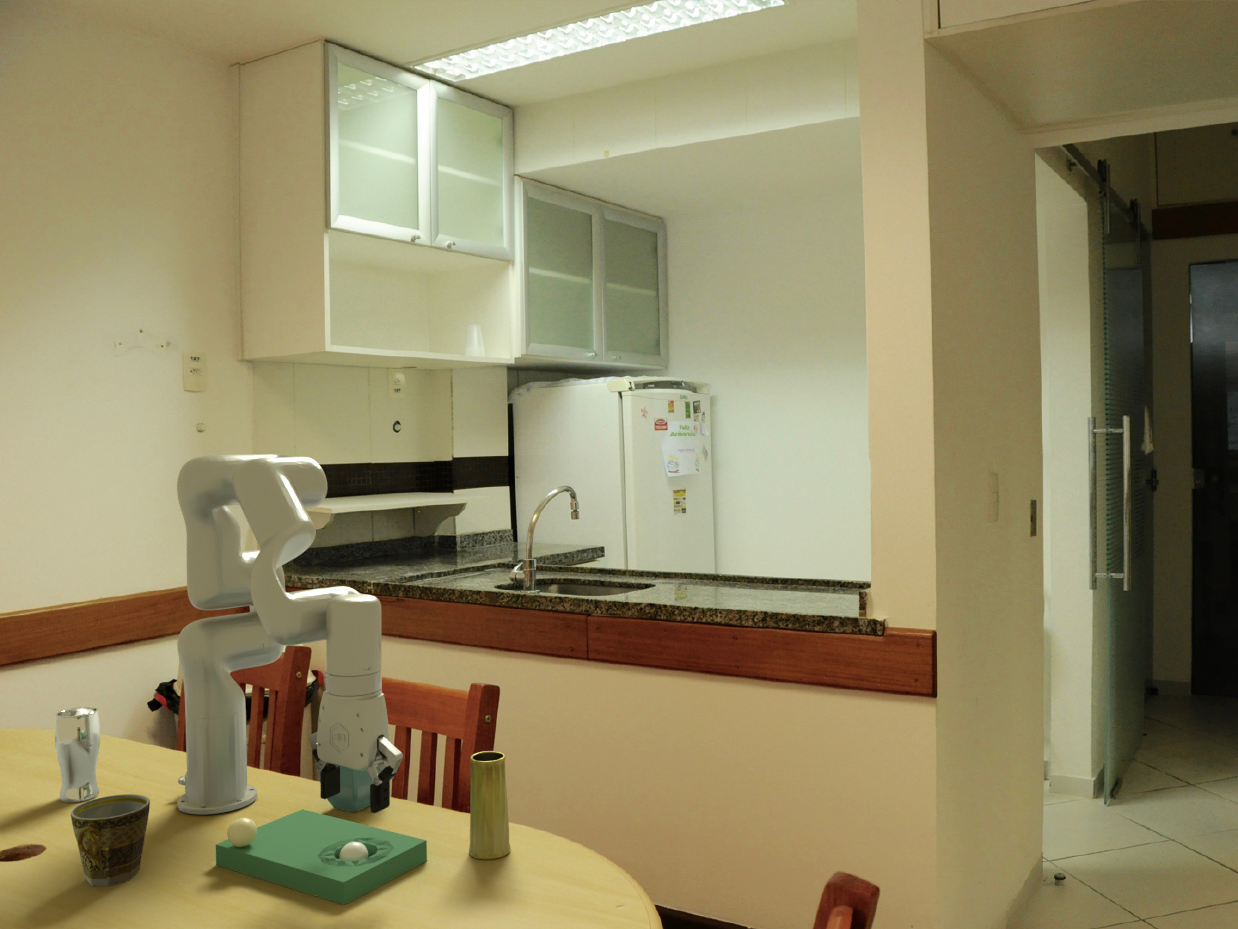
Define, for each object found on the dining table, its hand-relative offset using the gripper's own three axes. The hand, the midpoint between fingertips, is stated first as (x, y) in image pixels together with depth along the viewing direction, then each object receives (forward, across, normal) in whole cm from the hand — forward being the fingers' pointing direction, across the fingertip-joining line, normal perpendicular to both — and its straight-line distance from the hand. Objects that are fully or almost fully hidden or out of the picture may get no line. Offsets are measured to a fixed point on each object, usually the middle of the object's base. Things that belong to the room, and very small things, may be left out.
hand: (354, 802), depth 142 cm
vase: (+10, +12, +15) cm, 22 cm away
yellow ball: (+5, -16, -7) cm, 18 cm away
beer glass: (+12, -66, -1) cm, 67 cm away
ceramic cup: (+11, -28, -19) cm, 36 cm away
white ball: (+8, 0, 0) cm, 8 cm away
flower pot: (+11, -20, +19) cm, 29 cm away
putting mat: (+10, -7, 0) cm, 12 cm away
